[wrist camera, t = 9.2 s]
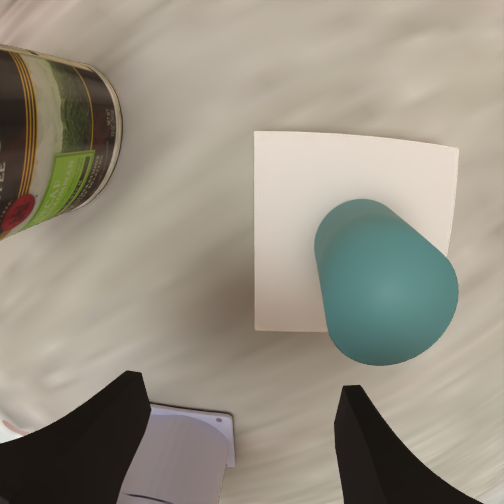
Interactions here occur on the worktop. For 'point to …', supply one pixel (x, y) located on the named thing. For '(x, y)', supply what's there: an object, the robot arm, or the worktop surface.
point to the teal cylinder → (381, 284)
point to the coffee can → (52, 136)
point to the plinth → (326, 199)
